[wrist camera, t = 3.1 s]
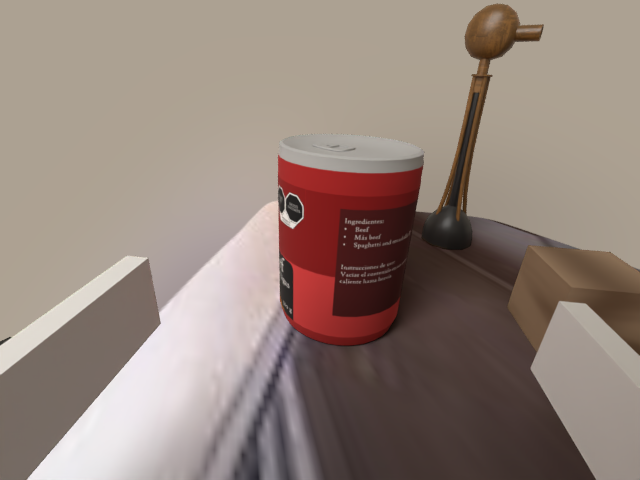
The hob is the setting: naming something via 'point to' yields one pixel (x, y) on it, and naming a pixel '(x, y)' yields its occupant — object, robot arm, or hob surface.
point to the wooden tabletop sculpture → (474, 119)
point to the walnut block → (576, 290)
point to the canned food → (345, 232)
